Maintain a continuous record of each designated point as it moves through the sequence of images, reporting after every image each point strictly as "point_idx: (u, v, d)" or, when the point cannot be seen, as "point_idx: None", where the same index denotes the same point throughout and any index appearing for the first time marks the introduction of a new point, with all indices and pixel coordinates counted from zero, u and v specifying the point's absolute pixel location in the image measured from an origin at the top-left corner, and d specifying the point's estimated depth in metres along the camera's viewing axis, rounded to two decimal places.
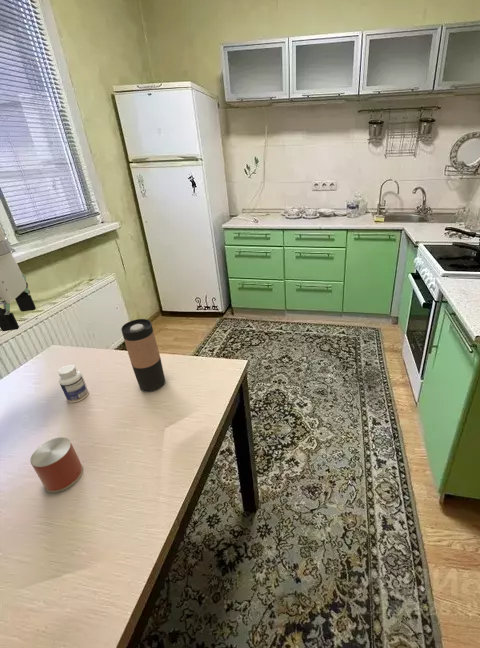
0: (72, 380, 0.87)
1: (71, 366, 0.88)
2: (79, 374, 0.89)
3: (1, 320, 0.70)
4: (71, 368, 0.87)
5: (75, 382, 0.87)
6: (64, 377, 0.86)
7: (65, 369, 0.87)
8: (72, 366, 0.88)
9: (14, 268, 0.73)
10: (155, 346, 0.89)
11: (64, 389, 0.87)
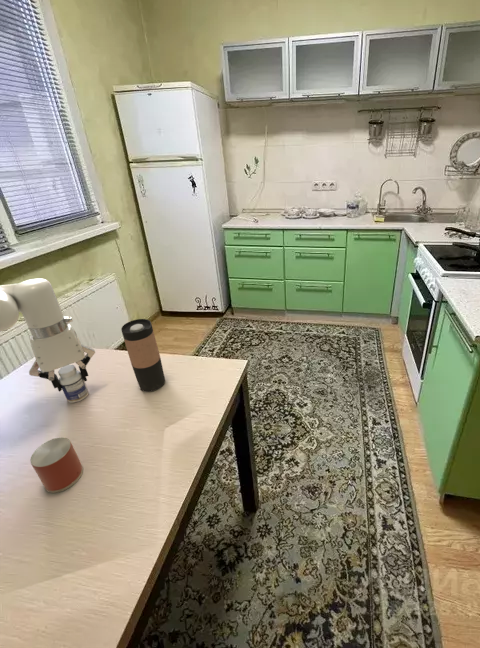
0: (72, 380, 0.87)
1: (71, 366, 0.88)
2: (79, 374, 0.89)
3: None
4: (71, 368, 0.87)
5: (75, 382, 0.87)
6: (64, 377, 0.86)
7: (65, 369, 0.87)
8: (72, 366, 0.88)
9: (64, 346, 0.83)
10: (155, 346, 0.89)
11: (64, 389, 0.87)
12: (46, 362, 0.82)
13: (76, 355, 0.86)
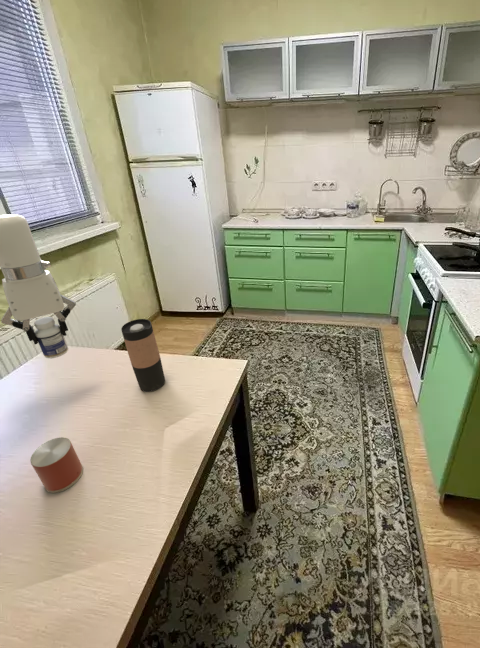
0: (50, 332, 0.80)
1: (49, 318, 0.81)
2: (58, 327, 0.82)
3: None
4: (49, 320, 0.80)
5: (53, 335, 0.80)
6: (41, 329, 0.79)
7: (43, 320, 0.80)
8: (50, 318, 0.81)
9: (41, 292, 0.76)
10: (155, 346, 0.89)
11: (40, 342, 0.80)
12: (20, 309, 0.74)
13: (54, 304, 0.78)
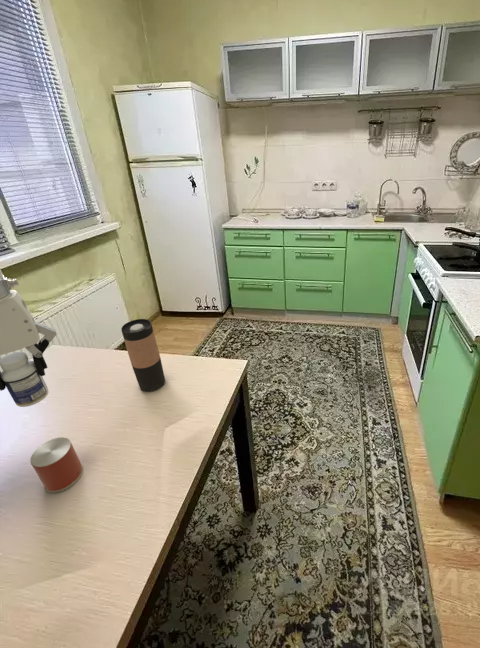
0: (21, 374, 0.59)
1: (20, 354, 0.60)
2: (32, 365, 0.61)
3: None
4: (19, 356, 0.59)
5: (25, 377, 0.59)
6: (8, 370, 0.58)
7: (11, 357, 0.59)
8: (22, 354, 0.60)
9: (5, 321, 0.55)
10: (155, 346, 0.89)
11: (9, 387, 0.59)
12: None
13: (25, 337, 0.57)
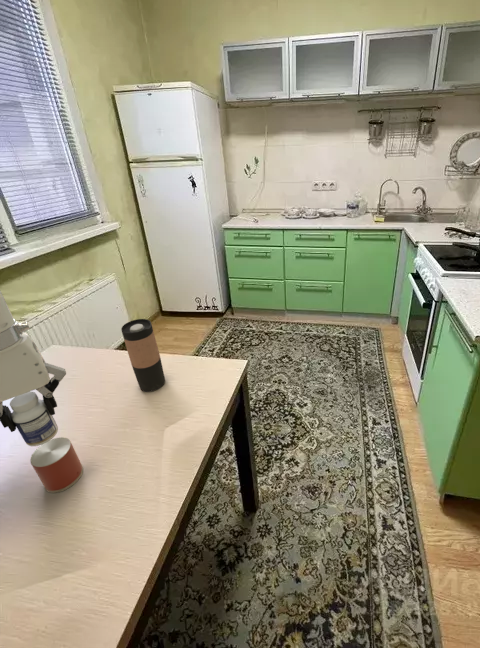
0: (32, 415, 0.59)
1: (30, 394, 0.60)
2: (43, 405, 0.61)
3: None
4: (30, 397, 0.59)
5: (36, 417, 0.59)
6: (19, 411, 0.58)
7: (22, 398, 0.59)
8: (32, 394, 0.60)
9: (16, 366, 0.55)
10: (155, 346, 0.89)
11: (19, 428, 0.59)
12: None
13: (36, 379, 0.58)
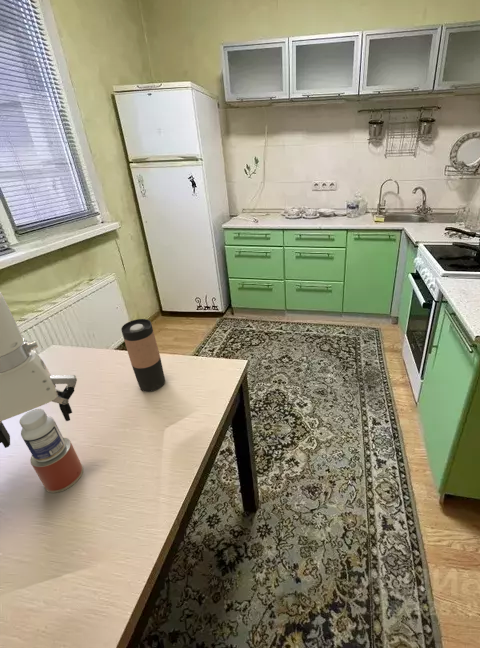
0: (40, 433, 0.61)
1: (39, 412, 0.62)
2: (51, 422, 0.63)
3: None
4: (39, 415, 0.61)
5: (44, 434, 0.61)
6: (28, 429, 0.60)
7: (31, 416, 0.61)
8: (41, 412, 0.62)
9: (25, 383, 0.57)
10: (155, 346, 0.89)
11: (29, 445, 0.61)
12: None
13: (44, 395, 0.59)
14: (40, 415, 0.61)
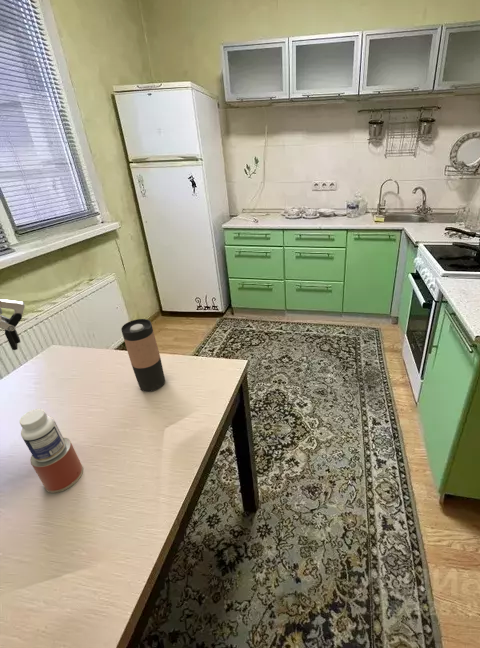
0: (40, 433, 0.61)
1: (39, 412, 0.62)
2: (51, 422, 0.63)
3: None
4: (39, 415, 0.61)
5: (44, 434, 0.61)
6: (28, 429, 0.60)
7: (31, 416, 0.61)
8: (41, 412, 0.62)
9: None
10: (155, 346, 0.89)
11: (29, 445, 0.61)
12: None
13: None
14: (40, 415, 0.61)
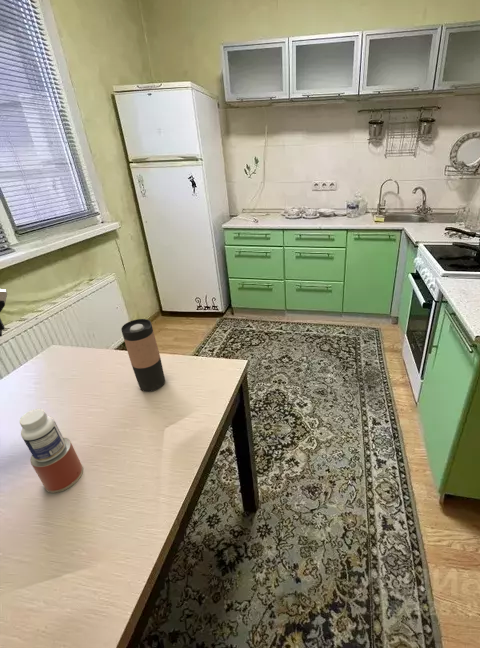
0: (40, 433, 0.61)
1: (39, 412, 0.62)
2: (51, 422, 0.63)
3: None
4: (39, 415, 0.61)
5: (44, 434, 0.61)
6: (28, 429, 0.60)
7: (31, 416, 0.61)
8: (41, 412, 0.62)
9: None
10: (155, 346, 0.89)
11: (29, 445, 0.61)
12: None
13: None
14: (40, 415, 0.61)
